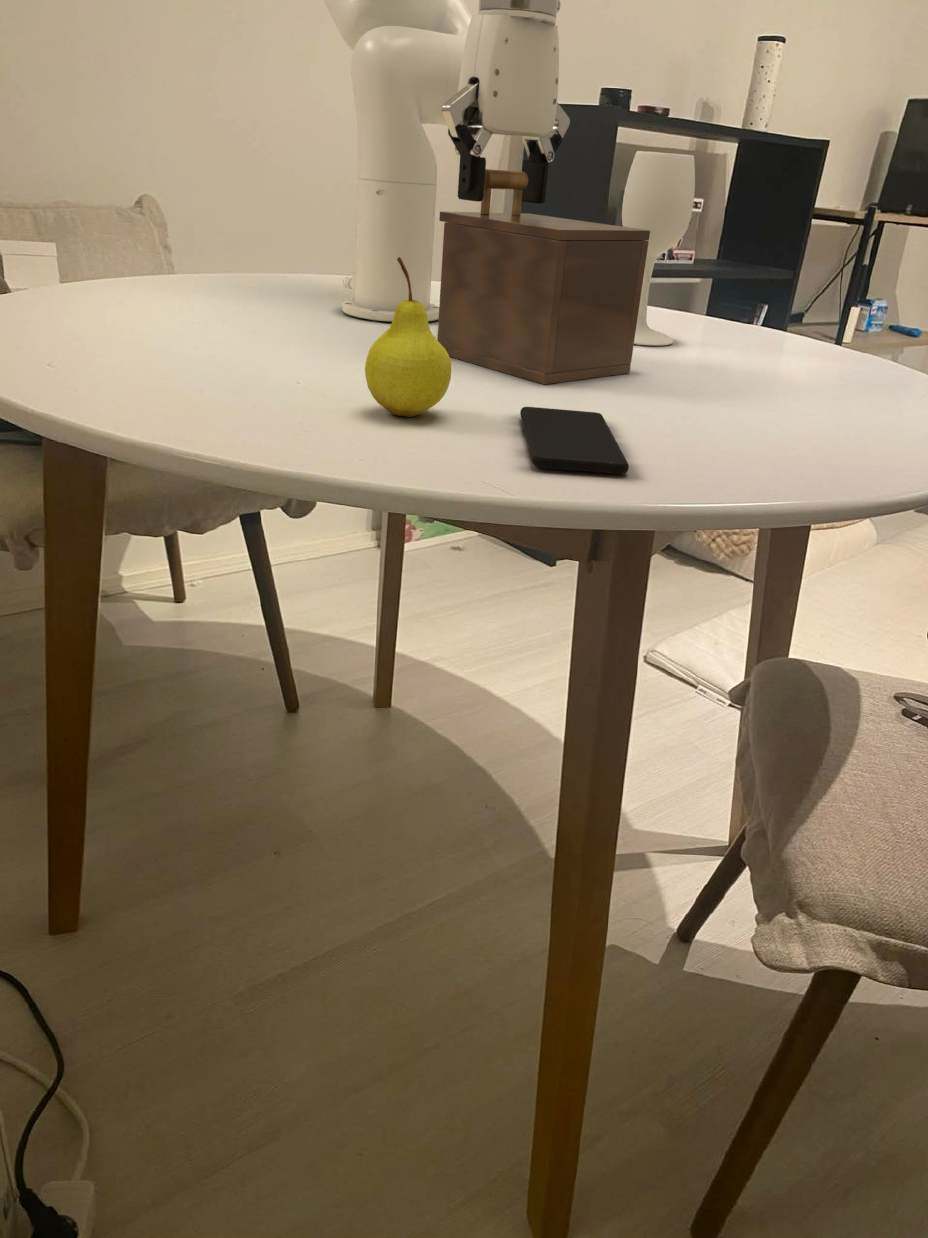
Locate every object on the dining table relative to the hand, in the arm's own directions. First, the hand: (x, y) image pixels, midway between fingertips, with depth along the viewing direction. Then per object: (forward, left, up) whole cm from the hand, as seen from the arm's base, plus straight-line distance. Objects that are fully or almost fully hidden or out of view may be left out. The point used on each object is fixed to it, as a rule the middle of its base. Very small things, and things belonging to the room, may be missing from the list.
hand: (501, 200), depth 101 cm
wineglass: (+2, +24, -15) cm, 29 cm away
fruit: (+18, -26, -15) cm, 35 cm away
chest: (+7, 0, -15) cm, 17 cm away
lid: (+6, 0, -2) cm, 7 cm away
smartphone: (+30, -20, -15) cm, 40 cm away
